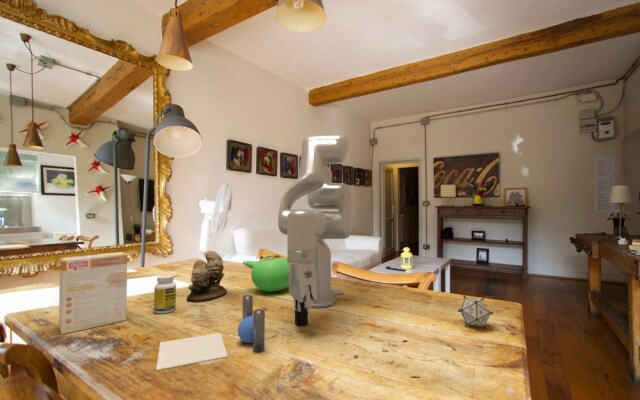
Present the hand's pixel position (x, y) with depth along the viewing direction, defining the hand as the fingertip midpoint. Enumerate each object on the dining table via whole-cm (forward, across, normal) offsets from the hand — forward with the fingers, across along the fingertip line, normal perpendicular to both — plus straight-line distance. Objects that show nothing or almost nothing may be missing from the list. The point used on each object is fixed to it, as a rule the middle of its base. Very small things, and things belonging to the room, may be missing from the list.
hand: (301, 325), depth 83 cm
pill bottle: (+2, +33, +34) cm, 47 cm away
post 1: (+2, +7, +13) cm, 15 cm away
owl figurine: (+2, +46, +20) cm, 50 cm away
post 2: (+2, -6, +13) cm, 15 cm away
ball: (-2, -1, +14) cm, 14 cm away
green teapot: (+2, +43, -4) cm, 43 cm away
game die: (+2, -17, -45) cm, 48 cm away
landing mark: (+2, 0, +27) cm, 27 cm away
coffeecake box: (+2, +29, +52) cm, 60 cm away
